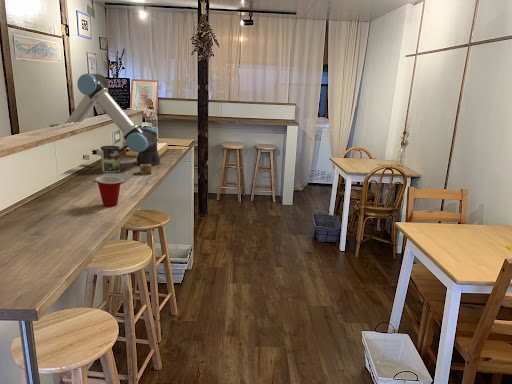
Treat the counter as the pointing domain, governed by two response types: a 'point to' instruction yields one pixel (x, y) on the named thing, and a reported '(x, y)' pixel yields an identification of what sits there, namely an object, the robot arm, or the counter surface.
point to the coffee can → (110, 159)
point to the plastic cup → (109, 189)
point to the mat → (123, 176)
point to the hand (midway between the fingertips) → (97, 155)
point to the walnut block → (145, 168)
